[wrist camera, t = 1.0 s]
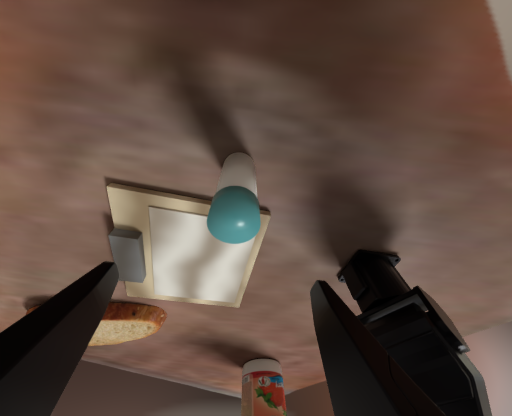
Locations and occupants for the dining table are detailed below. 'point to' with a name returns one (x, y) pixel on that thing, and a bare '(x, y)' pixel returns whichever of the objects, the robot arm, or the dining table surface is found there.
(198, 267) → the clipboard
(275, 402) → the fruit juice
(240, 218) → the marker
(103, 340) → the bread slice
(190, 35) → the dining table surface
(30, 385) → the robot arm
